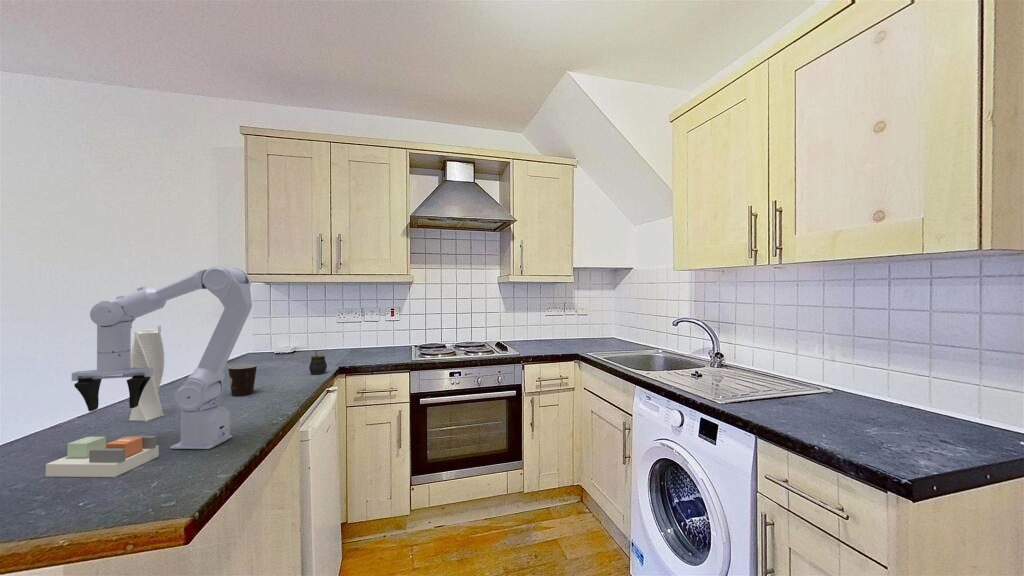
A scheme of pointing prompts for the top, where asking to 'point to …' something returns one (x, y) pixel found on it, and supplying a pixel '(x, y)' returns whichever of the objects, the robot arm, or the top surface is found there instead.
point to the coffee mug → (242, 379)
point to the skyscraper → (148, 355)
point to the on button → (84, 447)
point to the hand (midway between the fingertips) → (113, 408)
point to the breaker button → (127, 445)
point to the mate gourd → (318, 364)
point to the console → (104, 461)
